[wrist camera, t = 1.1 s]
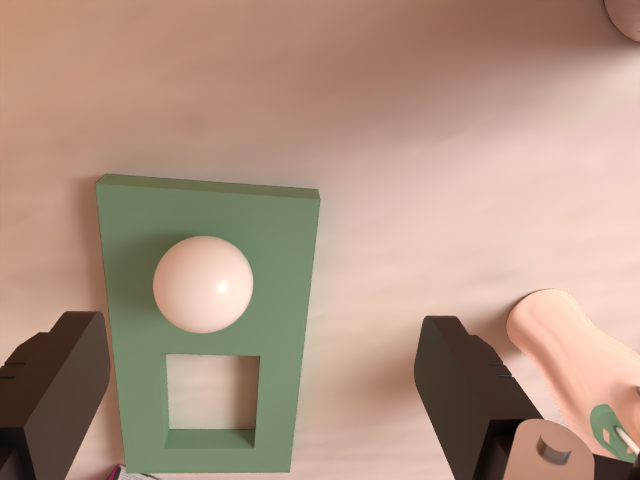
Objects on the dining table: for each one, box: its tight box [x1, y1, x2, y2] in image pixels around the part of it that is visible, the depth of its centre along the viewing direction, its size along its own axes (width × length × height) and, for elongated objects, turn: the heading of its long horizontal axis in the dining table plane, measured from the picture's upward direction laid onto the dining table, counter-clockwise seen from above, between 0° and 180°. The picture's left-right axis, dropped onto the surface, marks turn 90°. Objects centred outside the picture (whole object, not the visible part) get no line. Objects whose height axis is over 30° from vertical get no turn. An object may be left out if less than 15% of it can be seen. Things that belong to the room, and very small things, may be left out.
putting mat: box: [95, 174, 320, 473], centre depth 35 cm, size 26×14×2 cm, turn 174°
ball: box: [153, 236, 253, 333], centre depth 28 cm, size 6×6×6 cm
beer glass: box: [506, 289, 640, 463], centre depth 31 cm, size 7×7×15 cm
